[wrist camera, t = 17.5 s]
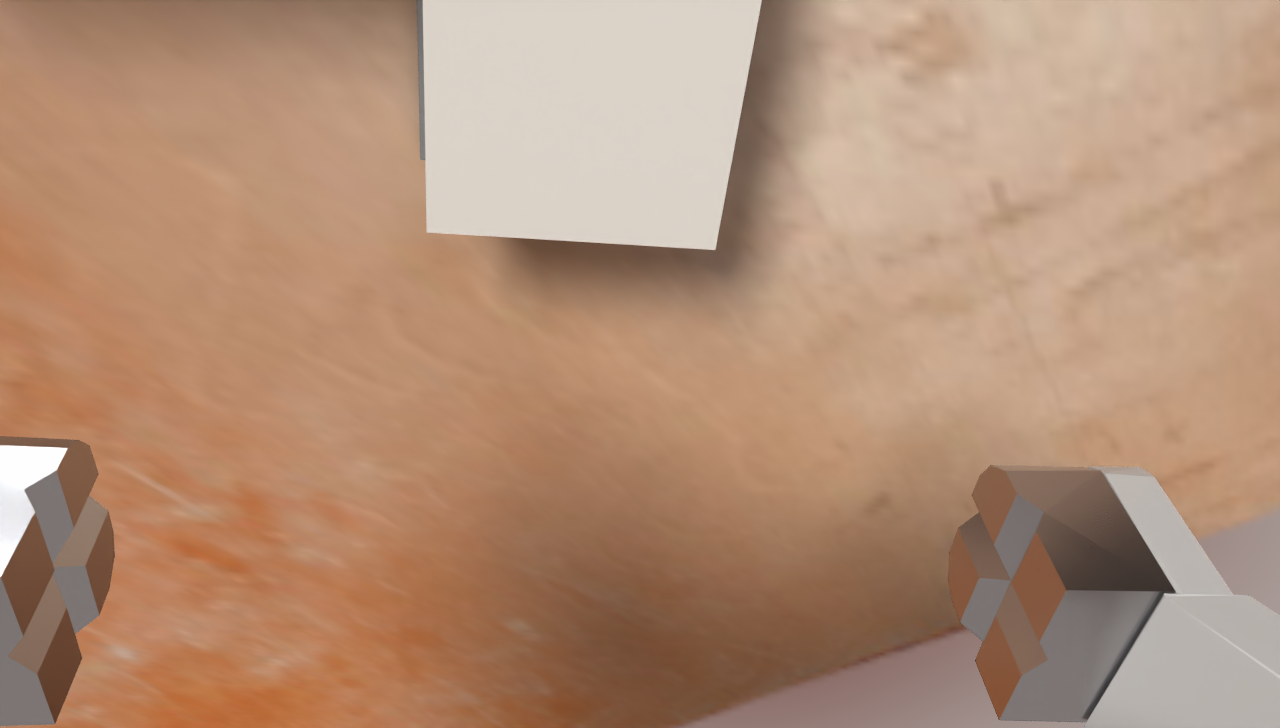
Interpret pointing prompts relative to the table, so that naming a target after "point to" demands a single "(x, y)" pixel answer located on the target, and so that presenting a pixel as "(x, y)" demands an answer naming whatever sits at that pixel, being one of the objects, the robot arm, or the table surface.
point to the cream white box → (584, 117)
